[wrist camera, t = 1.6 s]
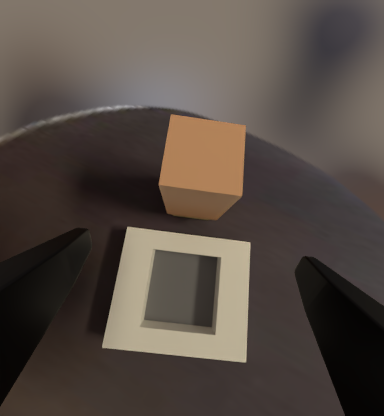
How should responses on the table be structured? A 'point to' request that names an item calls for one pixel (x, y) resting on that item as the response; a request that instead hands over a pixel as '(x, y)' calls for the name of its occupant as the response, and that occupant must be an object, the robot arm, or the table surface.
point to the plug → (202, 167)
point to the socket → (180, 296)
